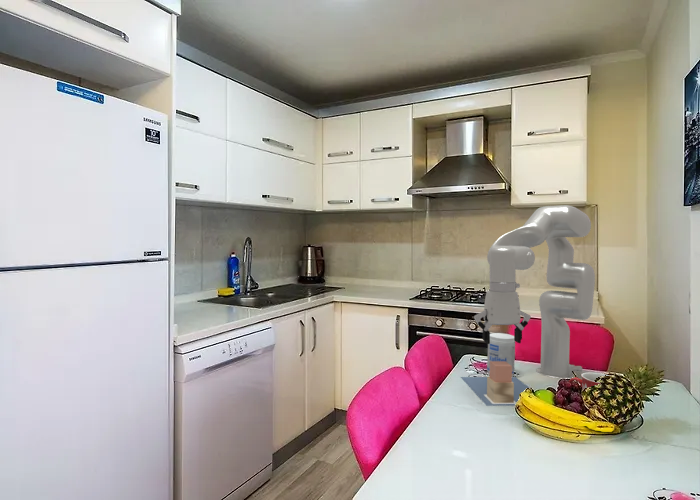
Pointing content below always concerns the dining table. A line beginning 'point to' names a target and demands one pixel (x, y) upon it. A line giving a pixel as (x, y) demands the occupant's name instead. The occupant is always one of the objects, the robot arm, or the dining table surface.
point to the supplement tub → (501, 349)
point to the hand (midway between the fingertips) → (502, 342)
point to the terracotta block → (500, 371)
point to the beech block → (500, 391)
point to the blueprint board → (481, 389)
